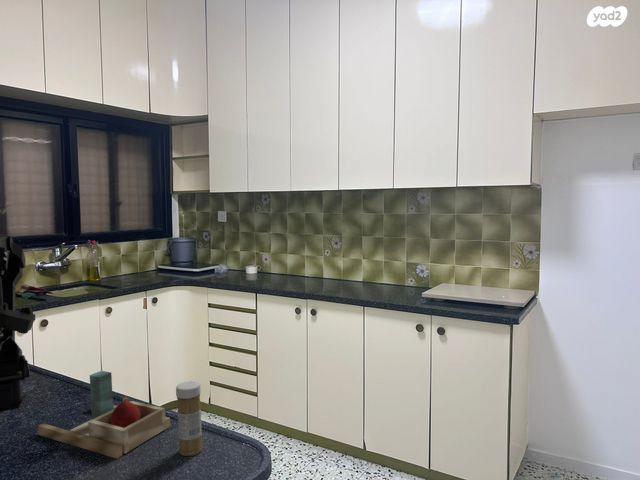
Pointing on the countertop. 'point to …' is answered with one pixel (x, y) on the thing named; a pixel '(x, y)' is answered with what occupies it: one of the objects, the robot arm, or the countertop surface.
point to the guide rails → (84, 439)
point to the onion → (125, 414)
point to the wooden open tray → (102, 411)
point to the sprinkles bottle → (189, 418)
